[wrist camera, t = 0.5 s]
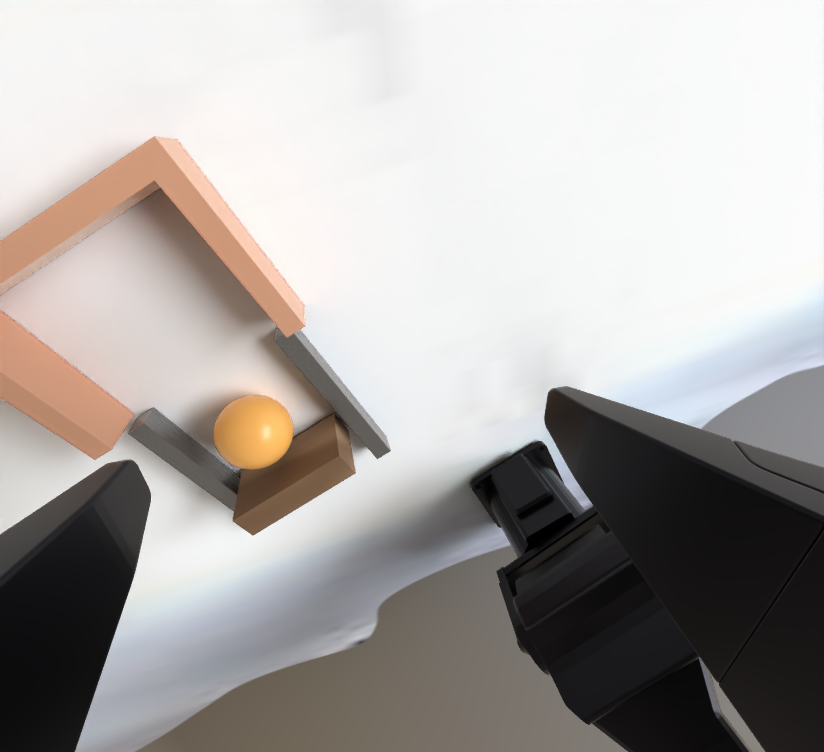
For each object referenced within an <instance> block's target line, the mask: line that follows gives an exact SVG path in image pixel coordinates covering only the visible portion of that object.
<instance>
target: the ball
mask: <svg viewBox="0 0 824 752" xmlns="http://www.w3.org/2000/svg"><path fill="white" fill-rule="evenodd" d="M292 438H293V423H292V419H291V417H290V414H289V413H288V411H287V410H286V409H285V407H284V406H283V405H282V404H280V403H279V402H278V401H276V400H274V399H273V398H270V397H267V396H263V395H248V396H244V397H241V398H238V399H236V400H234V401H233V402H231V403H230V404H228V405H227V406H226V407H225V408H224V409H223V410H222V412H221V413H220V414H219V416H218V418H217V420H216V423H215V426H214V442H215V446H216V448H217V450H218V452H219V454H220V455H221V456H222V457H223V458H224V459H225V460H226V461H227V462H228V463H230V464H231V465H233V466H236V467H238V468H242V469H249V470H254V469H261V468H265V467H267V466H270V465H272V464H273V463H275V462H277V461H278V460H279V459H280V458H281V457H282V456H283V455H284V454H285V453H286V451H287V450H288V448H289V446H290V444H291V442H292Z"/></svg>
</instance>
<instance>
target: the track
mask: <svg viewBox="0 0 824 752" xmlns="http://www.w3.org/2000/svg"><path fill="white" fill-rule="evenodd" d="M274 341H275V342H276V343H277V344H278V345H279V346H280V347H281V349H282V350H283V351H284V352H285V353H286V354H287V356H288V357H289V358H290V359H291V360H292V361H293V362H294V364H295V365H296V366H297V367H298V368H299V369H300V370H301V372H302V373H303V374H304V375H305V376H306V377H307V379H308V380H309V381H310V382H311V383H312V384H313V385H314V387H315V388H316V389H317V390H318V391H319V392H320V394H321V395H322V396H323V397H324V398H325V399H326V400H327V402H328V403H329V404H330V405H331V406H332V407H333V409H334V410H335V411H336V412H337V413H338V414H339V415H340V417H341V418H342V419H343V420H344V421H345V422H346V423H347V425H348V426H349V427H350V428H351V429H352V430H353V432H354V433H355V434H356V435H357V436H358V437H359V438H360V440H361V441H362V442H363V443H364V444H365V445H366V447H367V448H368V449H369V450H370V451H371V452H372V453H373V455H374V456H375V457H376V458H377V459H378V458H380V457H382V456H383V455H385V454H386V453H388V452H390V451H391V450H390V447H389V444H388V441H387V437H386V436H385V434H384V433H383V432H382V431H381V429H380V428H379V427H378V426H377V425H376V423H375V422H374V421H373V420H372V418H371V417H370V416H369V415H368V413H367V412H366V411H365V410H364V408H363V407H362V406H361V405H360V403H359V402H358V401H357V400H356V398H355V397H354V396H353V395H352V394H351V392H350V391H349V390H348V389H347V387H346V386H345V385H344V384H343V382H342V381H341V380H340V379H339V377H338V376H337V375H336V374H335V372H334V371H333V370H332V369H331V367H330V366H329V365H328V364H327V363H326V361H325V360H324V359H323V358H322V356H321V355H320V354H319V353H318V351H317V350H316V349H315V348H314V346H313V345H312V344H311V343H310V341H309V340H308V339H307V338H306V336H305V335H304V334H303V333H302V332H301V330H298V331H297V332H295V333H294V334H292V335H291V336H289V337H286V336H285V335H284V334H283V332H282V331H281V330H280V329H279V328H277V329H276V332H275V340H274ZM128 434H129V435H131V436H132V437H134V438H135V439H136V440H138V441H139V442H140V443H142V444H143V445H144V446H146V447H147V448H149V449H150V450H151V451H153V452H154V453H155V454H157V455H158V456H159V457H161V458H162V459H163V460H165V461H166V462H168V463H169V464H170V465H172V466H173V467H174V468H176V469H177V470H178V471H180V472H181V473H183V474H184V475H185V476H187V477H188V478H189V479H191V480H192V481H193V482H195V483H196V484H197V485H199V486H200V487H202V488H203V489H204V490H206V491H207V492H208V493H210V494H211V495H212V496H214V497H215V498H216V499H218V500H219V501H221V502H222V503H223V504H225V505H226V506H227V507H229V508H230V509H231V510H233V511H234V510H235V505H236V500H237V494H238V489H239V483H240V477H239V476H237V475H236V474H235V473H234V472H233V471H231V470H230V469H229V468H228V467H226V466H225V465H224V464H223V463H221V462H220V461H219V460H218V459H216V458H215V457H214V456H213V455H212V454H210V453H209V452H208V451H207V450H205V449H204V448H203V447H202V446H200V445H199V444H198V443H197V442H195V441H194V440H193V439H192V438H191V437H189V436H188V435H187V434H186V433H184V432H183V431H182V430H181V429H179V428H178V427H177V426H176V425H174V424H173V423H172V422H171V421H170V420H168V419H167V418H166V417H165V416H163V415H162V414H161V413H160V412H158V411H157V410H156V409H155V408H152V409H150V410H149V411H147V412H146V413H144V414H142V415H141V416H139V417H138V419H137V420H136V422H135V423H134V425H133V427H132V428H131V430H130V431H129V433H128Z"/></svg>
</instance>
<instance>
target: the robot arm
mask: <svg viewBox="0 0 824 752" xmlns="http://www.w3.org/2000/svg"><path fill="white" fill-rule="evenodd" d="M544 420H545V425H546V428H547V430H548V431H549V433H550V435H551V437H552V439H553V440H554V442H555V444H556V446H557V448H558V450H559V451H560V453H561V455H562V457H563V459H564V460H565V462H566V464H567V466H568V468H569V469H570V471H571V473H572V474H573V476H574V478H575V479H576V481H577V482H578V484H579V485H580V487H581V488H582V490H583V491H584V493H585V494H586V496H587V497H588V498H589V500H590V501H591V503H592V504H593V506H592V507H590V508H589V509H588V510H586V511H585V510H584V508H583V507H582V506H581V505H580V504H579V502H578V501H577V500H576V499H575V497H574V496H573V495H572V494H571V492H570V491H569V490H568V489H567V487H566V486H565V485H564V483H563V481H562V478H561V476H560V474H559V472H558V470H557V468H556V466H555V463H554V461H553V459H552V457H551V455H550V453H549V451H548V448H547V446H546V445H545V444H544V443H543V442H542V441H538V442H536V443H534V444H532V445H531V446H529V447H527V448H526V449H524V450H522V451H521V452H519V453H517V454H516V455H514V456H512V457H511V458H509V459H507V460H506V461H504V462H502V463H501V464H499V465H497V466H496V467H494V468H492V469H491V470H489V471H487V472H485V473H484V474H482V475H480V476H479V477H477V478H475V479H474V480H473V481H472V482H471V483H470V486H471V488H472V490H473V491H474V493H475V494H476V496H477V497H478V499H479V500H480V501H481V503H482V504H483V506H484V507H485V509H486V510H487V511H488V513H489V514H490V516H491V517H492V519H493V520H494V521H495V523H496V524H497V526H498V527H500V528H502V529H503V531H504V533H505V535H506V537H507V538H508V540H509V542H510V544H511V546H512V548H513V549H514V551H515V553H516V555H517V557H518V558H517V559H516V560H514V561H513V562H511V563H510V564H509V565H507V566H506V567H502V568H500V569H499V570H497V575H498V578H499V581H500V583H499V585H500V588H501V591H502V594H503V597H504V600H505V603H506V606H507V610H508V613H509V616H510V619H511V622H512V625H513V628H514V631H515V634H516V638H517V643H518V646H519V648H520V649H521V651H522V652H523V653H526V654H528V655H530V656H531V657H532V659H533V660H534V662H535V663H536V664H537V665H538V666H539V668H540V669H541V670H542V671H543V672H544V673H545V674H547V675H551V676H552V678H553V680H554V682H555V684H556V686H557V688H558V690H559V693H560V695H561V697H562V699H563V701H564V703H565V704H566V706H567V707H568V708H569V709H570V710H571V711H572V712H573V713H574V714H575V715H577V716H578V717H579V718H580V719H581V720H582V721H583V722H585V723H586V724H588V725H590V724H591V723H592V724H594V725H595V726H596V727H597V728H598V729H600V730H601V731H603V732H604V733H605V734H606V735H607V736H609V737H610V738H611V739H613V740H614V741H615V742H617V743H618V744H619V745H620V746H622V747H623V748H624V749H625V750H627V751H628V752H752V751H751V749H750V748H749V747H748V746H747V745H746V743H745V742H744V740H743V739H742V738H741V736H740V735H739V734H738V732H737V731H736V730H735V729H734V727H733V726H732V725H731V723H730V722H729V721H728V719H727V718H726V717H725V715H724V714H723V713H722V711H721V709H720V705H719V701H718V698H717V694H716V691H715V687H714V683H713V680H712V676H713V677H714V679H715V680H716V681H717V682H719V686H720V688H721V689H722V690H723V692H724V693H725V695H726V696H727V698H728V699H729V700H730V702H731V703H732V705H733V706H734V707H735V709H736V710H737V712H738V713H739V715H740V716H741V717H742V719H743V720H744V722H745V723H746V725H747V726H748V728H749V729H750V730H751V732H752V733H753V735H754V736H755V738H756V739H757V740H758V742H759V743H760V745H761V746H762V748H763V749H764V750H765V752H824V467H821V466H818V465H814V464H811V463H808V462H804V461H801V460H797V459H794V458H790V457H787V456H784V455H781V454H777V453H774V452H771V451H768V450H764V449H761V448H758V447H755V446H752V445H748V444H746V443H742V442H739V441H736V440H734V441H732V440H731V439H730V438H726V437H723V436H720V435H717V434H714V433H711V432H708V431H705V430H702V429H699V428H695V427H692V426H689V425H686V424H683V423H680V422H677V421H674V420H671V419H667V418H664V417H661V416H658V415H655V414H652V413H649V412H646V411H643V410H639V409H636V408H633V407H630V406H627V405H624V404H621V403H618V402H615V401H611V400H608V399H605V398H602V397H599V396H596V395H593V394H590V393H587V392H583V391H580V390H577V389H574V388H571V387H567V386H564V387H558V388H553V389H551V390H550V391H549V392H548V396H547V403H546V409H545V416H544ZM150 502H151V493H150V490H149V487H148V485H147V483H146V481H145V479H144V477H143V475H142V473H141V471H140V469H139V467H138V465H137V464H136V463H135V462H134V461H133V460H123V461H117V462H111V463H108V464H106V465H104V466H102V467H101V468H99V469H98V470H96V471H95V472H93V473H92V474H90V475H89V476H87V477H86V478H84V479H83V480H81V481H80V482H78V483H77V484H75V485H74V486H72V487H71V488H69V489H68V490H66V491H65V492H63V493H62V494H60V495H59V496H57V497H56V498H54V499H53V500H51V501H50V502H48V503H47V504H45V505H44V506H42V507H41V508H39V509H38V510H36V511H35V512H33V513H32V514H30V515H29V516H27V517H26V518H24V519H23V520H21V521H20V522H18V523H17V524H15V525H14V526H12V527H11V528H9V529H8V530H6V531H5V532H3V533H2V534H0V752H75V750H76V747H77V744H78V741H79V738H80V735H81V732H82V729H83V726H84V723H85V720H86V717H87V714H88V711H89V708H90V705H91V702H92V699H93V696H94V693H95V691H96V688H97V685H98V682H99V679H100V676H101V673H102V670H103V667H104V664H105V661H106V658H107V655H108V652H109V649H110V646H111V643H112V640H113V637H114V634H115V631H116V629H117V626H118V623H119V620H120V617H121V614H122V611H123V608H124V605H125V602H126V599H127V596H128V593H129V590H130V587H131V584H132V581H133V578H134V574H135V571H136V567H137V563H138V558H139V553H140V549H141V544H142V539H143V535H144V530H145V525H146V521H147V516H148V511H149V507H150ZM711 674H712V676H711Z"/></svg>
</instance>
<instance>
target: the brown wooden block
mask: <svg viewBox="0 0 824 752" xmlns="http://www.w3.org/2000/svg"><path fill="white" fill-rule="evenodd" d="M355 473H356V472H355V466H354V460H353V455H352V449H351V443H350V438H349V432H348V429H347V428H346V427H345V426H344V425H343V424H342V422H341V421H340V420H339V419H338V418H337V417H336V416H335V414H332V415H330V416H329V417H327V418H325V419H324V420H322V421H321V422H319V423H317V424H316V425H314V426H313V427H311V428H309V429H308V430H306V431H305V432H303V433H301V434H300V435H298V436H296V437H295V438H293V439H292V442H291V444H290V446H289V448H288V450H287V451H286V453H285V454H284V455H283V456H282V457H281V458H280V459H279V460H278V461H277V462H275V463H273V464H272V465H270V466H267V467H265V468H261V469H254V470H249V469H243V470H242V473H241V478H240V483H239V489H238V494H237V500H236V505H235V510H234V516H233V522H235V523H236V524H237V525H239V526H240V527H242V528H243V529H244V530H246V531H247V532H249V533H250V534H251V535H255V534H256V533H258V532H260V531H261V530H263V529H265V528H266V527H268V526H270V525H271V524H273V523H275V522H276V521H278V520H279V519H281V518H283V517H284V516H286V515H288V514H289V513H291V512H293V511H294V510H296V509H298V508H299V507H301V506H302V505H304V504H306V503H307V502H309V501H311V500H312V499H314V498H316V497H317V496H319V495H321V494H322V493H324V492H325V491H327V490H329V489H330V488H332V487H334V486H335V485H337V484H339V483H340V482H342V481H344V480H345V479H347V478H348V477H350V476H352V475H353V474H355Z"/></svg>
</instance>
